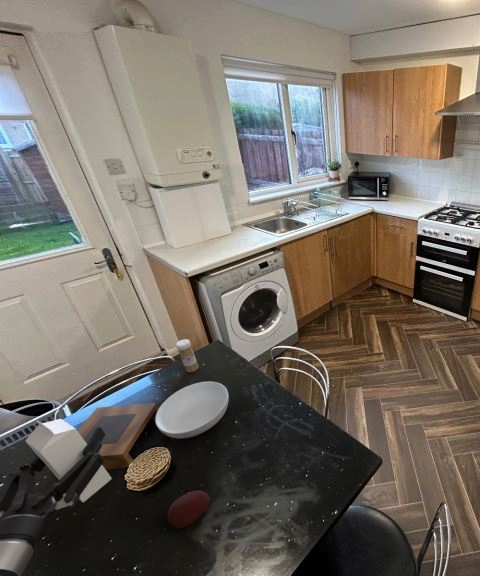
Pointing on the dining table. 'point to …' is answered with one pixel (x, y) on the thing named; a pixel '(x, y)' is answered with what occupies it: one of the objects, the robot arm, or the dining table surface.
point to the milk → (63, 452)
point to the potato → (188, 509)
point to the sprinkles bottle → (187, 355)
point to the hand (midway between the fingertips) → (78, 435)
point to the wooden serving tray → (118, 430)
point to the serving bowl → (192, 410)
